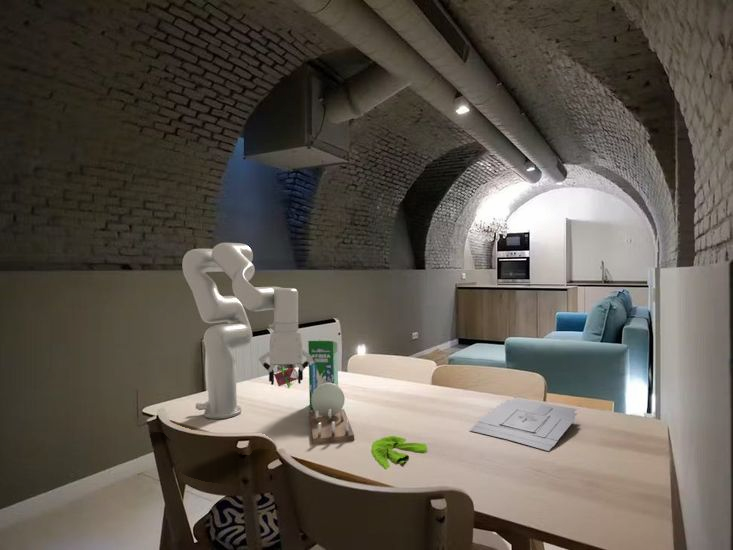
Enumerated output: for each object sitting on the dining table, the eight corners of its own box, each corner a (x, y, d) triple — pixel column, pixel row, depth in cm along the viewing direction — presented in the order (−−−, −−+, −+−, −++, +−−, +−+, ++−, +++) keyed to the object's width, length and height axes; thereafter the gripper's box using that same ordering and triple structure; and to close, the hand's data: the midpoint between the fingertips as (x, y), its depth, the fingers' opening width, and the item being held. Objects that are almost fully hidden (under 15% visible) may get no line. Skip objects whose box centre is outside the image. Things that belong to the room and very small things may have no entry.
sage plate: (311, 418, 143) (311, 384, 143) (311, 417, 144) (310, 384, 144) (344, 415, 145) (344, 382, 144) (344, 414, 146) (343, 381, 146)
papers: (583, 418, 139) (582, 407, 138) (550, 460, 117) (549, 448, 116) (510, 403, 155) (509, 393, 155) (469, 438, 133) (468, 427, 133)
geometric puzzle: (266, 382, 133) (282, 362, 133) (272, 376, 140) (286, 357, 140) (285, 396, 133) (300, 376, 133) (289, 390, 140) (304, 370, 140)
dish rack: (313, 443, 125) (313, 438, 125) (309, 415, 150) (309, 411, 150) (354, 440, 127) (354, 435, 127) (343, 412, 152) (343, 408, 152)
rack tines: (318, 437, 126) (317, 423, 126) (313, 411, 150) (313, 399, 150) (348, 434, 128) (348, 421, 127) (339, 409, 151) (339, 398, 151)
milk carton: (338, 402, 164) (337, 336, 164) (334, 410, 155) (332, 340, 155) (315, 402, 165) (313, 336, 165) (309, 409, 156) (308, 340, 156)
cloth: (390, 434, 133) (390, 426, 133) (454, 452, 119) (454, 444, 119) (345, 457, 117) (345, 449, 117) (413, 481, 103) (413, 471, 103)
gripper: (256, 329, 131) (256, 387, 131) (314, 328, 134) (314, 385, 134) (258, 326, 138) (258, 381, 139) (313, 325, 141) (313, 378, 142)
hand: (286, 382), depth 137 cm, fingers closed on geometric puzzle, 7 cm apart
